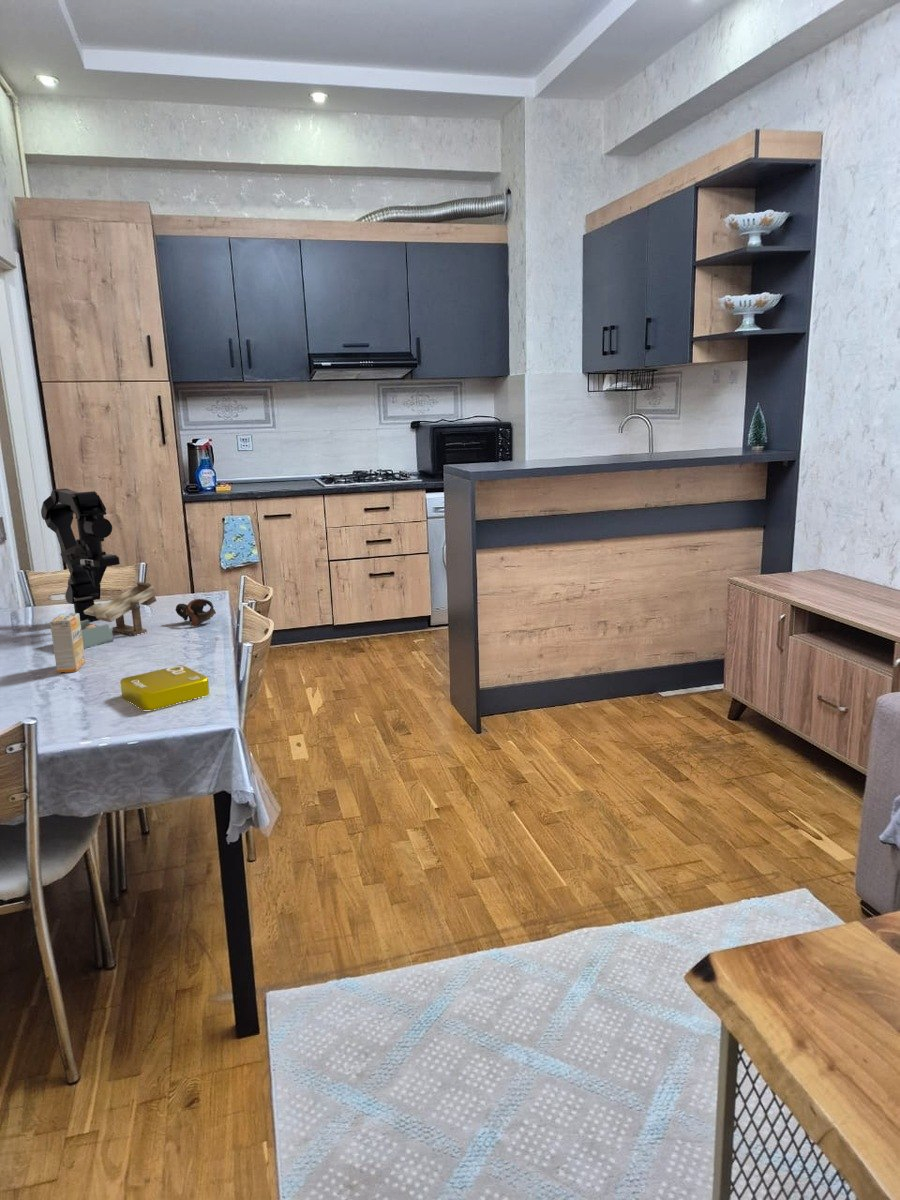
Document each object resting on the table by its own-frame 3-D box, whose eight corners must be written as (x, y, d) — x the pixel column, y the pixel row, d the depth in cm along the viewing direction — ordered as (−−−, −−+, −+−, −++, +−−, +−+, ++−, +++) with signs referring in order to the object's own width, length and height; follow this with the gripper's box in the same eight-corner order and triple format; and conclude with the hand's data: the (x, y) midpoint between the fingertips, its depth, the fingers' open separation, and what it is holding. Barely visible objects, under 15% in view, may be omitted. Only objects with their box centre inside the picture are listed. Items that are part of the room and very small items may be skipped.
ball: (96, 633, 225) (84, 640, 222) (90, 621, 223) (78, 628, 220) (104, 635, 223) (92, 642, 220) (98, 623, 221) (86, 630, 218)
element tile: (119, 697, 176) (116, 677, 175) (184, 681, 186) (181, 662, 185) (146, 714, 166) (143, 693, 165) (213, 696, 175) (211, 676, 174)
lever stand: (125, 627, 236) (121, 596, 234) (146, 632, 229) (143, 600, 227) (112, 630, 233) (108, 599, 231) (134, 635, 226) (130, 603, 224)
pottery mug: (218, 619, 245) (219, 599, 240) (209, 639, 238) (210, 619, 233) (179, 610, 244) (179, 590, 239) (169, 631, 237) (169, 611, 232)
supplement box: (77, 672, 195) (70, 620, 192) (56, 673, 194) (49, 621, 191) (86, 662, 203) (79, 612, 200) (66, 663, 202) (59, 613, 199)
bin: (56, 645, 219) (53, 627, 218) (92, 636, 228) (90, 619, 226) (77, 650, 213) (74, 632, 212) (113, 641, 221) (111, 623, 220)
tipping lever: (129, 594, 242) (122, 579, 240) (159, 600, 234) (151, 584, 231) (84, 621, 232) (76, 605, 229) (113, 628, 223) (105, 611, 221)
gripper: (45, 536, 231) (53, 589, 234) (80, 541, 220) (88, 596, 223) (82, 531, 239) (89, 582, 243) (117, 535, 229) (124, 588, 232)
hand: (96, 587), depth 235 cm, fingers closed
